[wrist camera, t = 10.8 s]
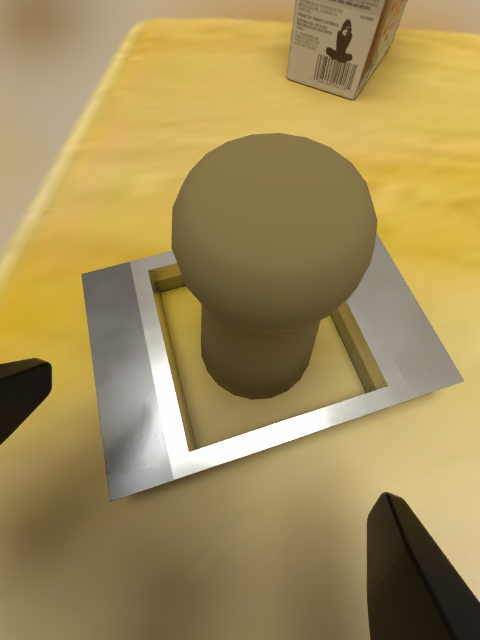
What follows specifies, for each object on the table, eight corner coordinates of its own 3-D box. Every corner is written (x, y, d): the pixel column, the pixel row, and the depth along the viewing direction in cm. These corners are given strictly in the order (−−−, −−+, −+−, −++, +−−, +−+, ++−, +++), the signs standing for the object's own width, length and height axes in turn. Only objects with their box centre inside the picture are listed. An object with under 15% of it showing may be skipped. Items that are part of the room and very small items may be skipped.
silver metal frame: (131, 492, 14) (110, 501, 12) (101, 295, 18) (81, 274, 16) (432, 390, 16) (464, 381, 13) (345, 230, 19) (358, 203, 17)
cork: (292, 285, 18) (359, 76, 8) (326, 384, 16) (481, 274, 6) (192, 305, 17) (123, 112, 7) (212, 411, 15) (152, 345, 5)
